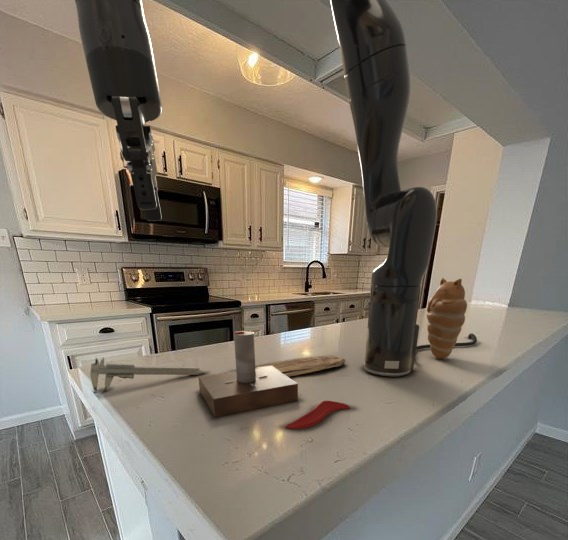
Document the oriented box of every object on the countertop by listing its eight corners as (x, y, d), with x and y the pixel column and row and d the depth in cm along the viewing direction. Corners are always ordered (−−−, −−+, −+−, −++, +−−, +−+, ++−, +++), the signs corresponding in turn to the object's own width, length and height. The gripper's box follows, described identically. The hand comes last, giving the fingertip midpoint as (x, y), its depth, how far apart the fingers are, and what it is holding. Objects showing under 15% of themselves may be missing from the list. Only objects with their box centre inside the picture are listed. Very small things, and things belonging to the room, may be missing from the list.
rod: (252, 375, 57) (249, 328, 54) (258, 381, 54) (256, 332, 51) (234, 378, 55) (231, 330, 52) (240, 384, 53) (237, 334, 50)
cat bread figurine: (413, 355, 78) (423, 277, 72) (438, 352, 81) (450, 276, 74) (441, 365, 70) (455, 279, 64) (468, 361, 73) (484, 278, 67)
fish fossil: (242, 387, 59) (241, 381, 59) (225, 375, 68) (224, 370, 68) (352, 363, 70) (352, 358, 70) (325, 356, 79) (325, 351, 79)
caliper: (94, 393, 58) (86, 359, 56) (94, 391, 59) (86, 358, 56) (205, 373, 67) (202, 344, 65) (204, 372, 68) (201, 343, 66)
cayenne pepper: (341, 402, 53) (342, 392, 52) (360, 414, 49) (360, 402, 48) (275, 418, 48) (275, 406, 47) (289, 432, 44) (289, 419, 43)
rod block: (271, 379, 63) (271, 364, 62) (298, 400, 54) (298, 382, 53) (200, 392, 58) (198, 375, 56) (215, 417, 48) (213, 398, 47)
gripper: (148, 22, 32) (179, 203, 38) (159, 95, 45) (181, 222, 51) (65, 15, 31) (109, 206, 36) (101, 93, 44) (130, 224, 49)
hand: (151, 215), depth 43 cm, fingers open, 8 cm apart
